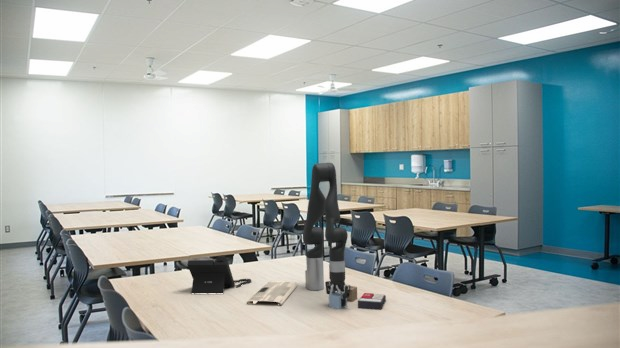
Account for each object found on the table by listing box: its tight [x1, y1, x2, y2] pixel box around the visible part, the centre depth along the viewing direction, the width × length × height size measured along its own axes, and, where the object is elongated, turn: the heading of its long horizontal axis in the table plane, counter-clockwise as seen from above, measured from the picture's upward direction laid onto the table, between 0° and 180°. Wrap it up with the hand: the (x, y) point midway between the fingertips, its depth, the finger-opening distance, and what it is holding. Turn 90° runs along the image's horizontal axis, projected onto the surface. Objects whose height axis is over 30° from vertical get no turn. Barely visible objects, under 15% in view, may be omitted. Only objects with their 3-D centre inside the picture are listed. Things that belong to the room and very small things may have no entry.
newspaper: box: [246, 280, 299, 307], centre depth 236 cm, size 37×19×3 cm, turn 169°
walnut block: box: [341, 285, 358, 303], centre depth 224 cm, size 6×6×6 cm
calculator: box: [357, 292, 387, 311], centre depth 216 cm, size 11×4×15 cm
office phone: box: [187, 255, 252, 294], centre depth 253 cm, size 29×28×20 cm
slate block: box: [328, 291, 348, 310], centre depth 213 cm, size 6×6×6 cm
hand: (338, 305), depth 213 cm, fingers closed on slate block, 6 cm apart
